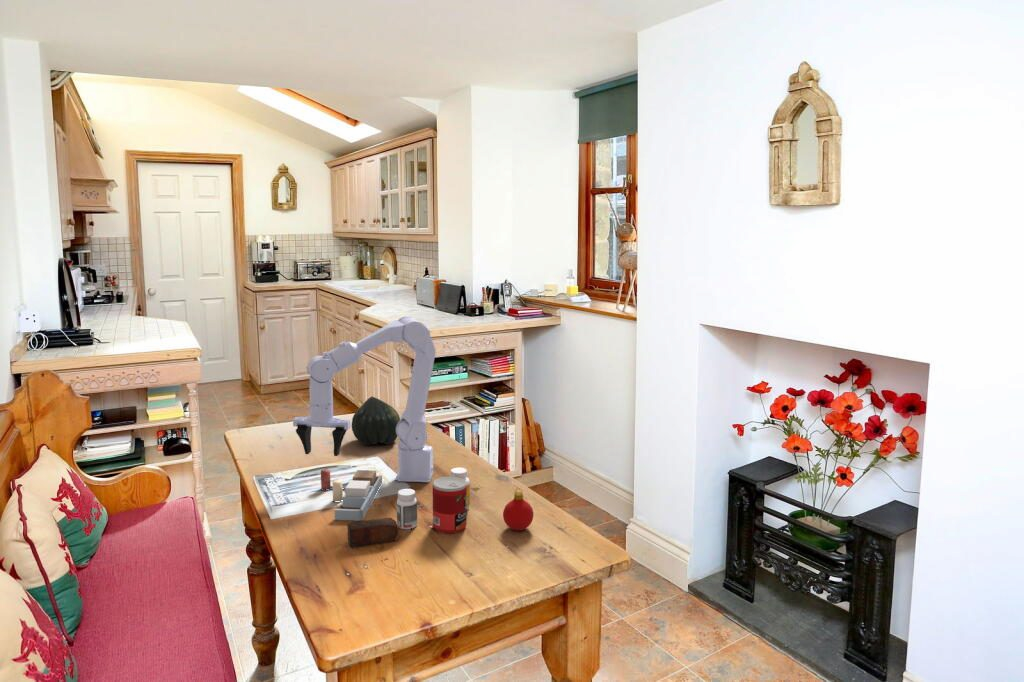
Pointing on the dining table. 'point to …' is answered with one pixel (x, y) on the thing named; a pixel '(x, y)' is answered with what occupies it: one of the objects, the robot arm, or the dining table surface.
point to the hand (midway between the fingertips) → (322, 453)
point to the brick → (372, 532)
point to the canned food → (449, 504)
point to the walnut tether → (358, 476)
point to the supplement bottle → (463, 474)
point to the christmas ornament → (518, 513)
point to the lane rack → (358, 504)
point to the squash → (375, 422)
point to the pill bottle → (406, 509)
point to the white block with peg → (350, 489)
